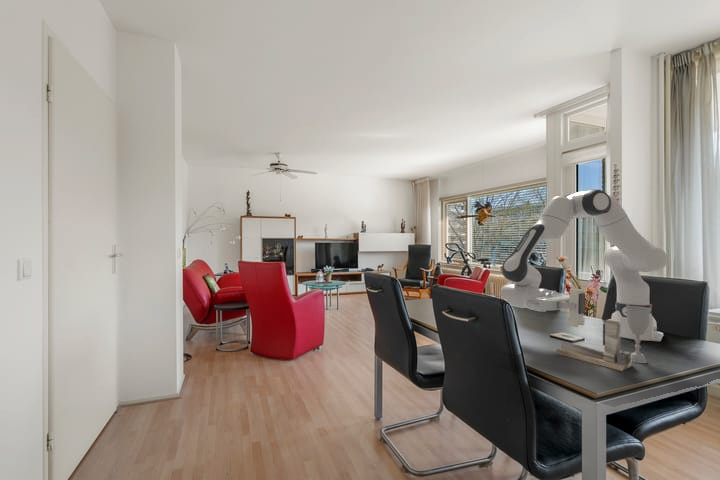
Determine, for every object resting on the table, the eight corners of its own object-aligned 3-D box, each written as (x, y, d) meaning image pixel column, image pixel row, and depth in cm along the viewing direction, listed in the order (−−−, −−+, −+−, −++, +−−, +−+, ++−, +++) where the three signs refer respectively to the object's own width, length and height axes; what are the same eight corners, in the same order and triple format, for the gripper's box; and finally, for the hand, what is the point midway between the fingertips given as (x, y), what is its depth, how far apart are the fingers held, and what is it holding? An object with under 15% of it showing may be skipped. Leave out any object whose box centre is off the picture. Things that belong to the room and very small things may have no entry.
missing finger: (575, 323, 128) (576, 288, 128) (586, 325, 125) (587, 289, 125) (567, 325, 124) (568, 289, 124) (578, 327, 121) (579, 290, 121)
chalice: (619, 357, 122) (619, 305, 122) (637, 356, 123) (638, 305, 123) (637, 364, 115) (637, 309, 115) (656, 364, 115) (657, 309, 115)
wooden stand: (567, 349, 130) (567, 310, 130) (631, 366, 113) (632, 321, 113) (556, 353, 125) (556, 313, 125) (621, 371, 109) (622, 324, 109)
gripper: (525, 293, 130) (564, 299, 118) (554, 290, 141) (592, 294, 130) (525, 310, 130) (564, 317, 118) (554, 305, 141) (592, 311, 130)
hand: (579, 305), depth 124 cm, fingers closed on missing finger, 4 cm apart
